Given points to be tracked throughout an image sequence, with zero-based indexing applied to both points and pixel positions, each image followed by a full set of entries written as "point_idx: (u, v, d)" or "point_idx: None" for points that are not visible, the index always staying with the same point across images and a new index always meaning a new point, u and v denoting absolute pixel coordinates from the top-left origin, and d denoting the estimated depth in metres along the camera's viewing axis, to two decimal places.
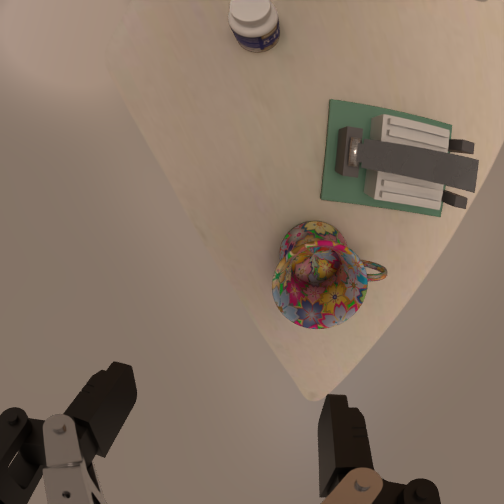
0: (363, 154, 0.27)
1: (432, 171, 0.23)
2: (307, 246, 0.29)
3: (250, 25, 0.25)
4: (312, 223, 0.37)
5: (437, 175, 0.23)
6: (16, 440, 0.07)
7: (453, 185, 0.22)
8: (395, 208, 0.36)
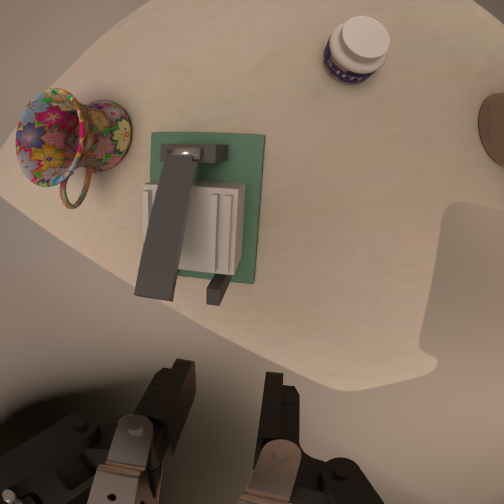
0: (179, 161, 0.25)
1: (155, 241, 0.23)
2: (77, 113, 0.22)
3: (340, 37, 0.21)
4: (127, 127, 0.31)
5: (151, 247, 0.23)
6: (75, 447, 0.07)
7: (140, 267, 0.22)
8: None
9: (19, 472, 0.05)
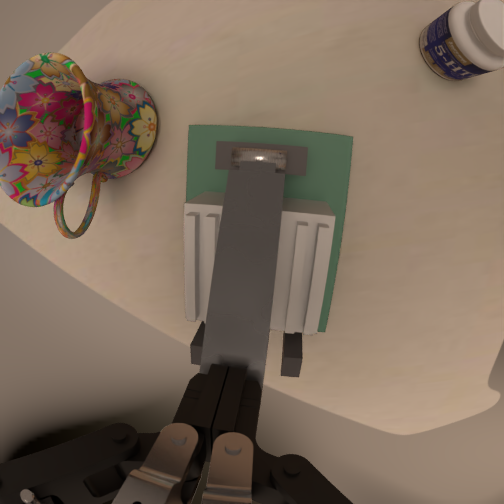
0: (254, 172, 0.16)
1: (227, 313, 0.14)
2: (81, 88, 0.13)
3: (470, 19, 0.11)
4: (152, 116, 0.22)
5: (220, 322, 0.14)
6: (109, 459, 0.07)
7: (204, 356, 0.13)
8: None
9: (43, 475, 0.06)
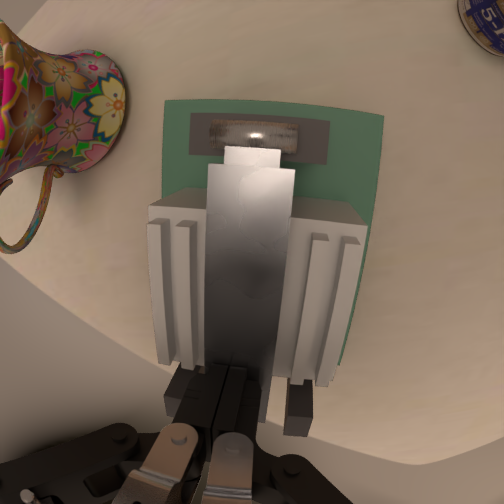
0: (248, 167, 0.10)
1: (226, 349, 0.12)
2: (3, 50, 0.07)
3: None
4: (118, 91, 0.16)
5: (220, 357, 0.12)
6: (109, 459, 0.07)
7: None
8: None
9: (43, 475, 0.06)
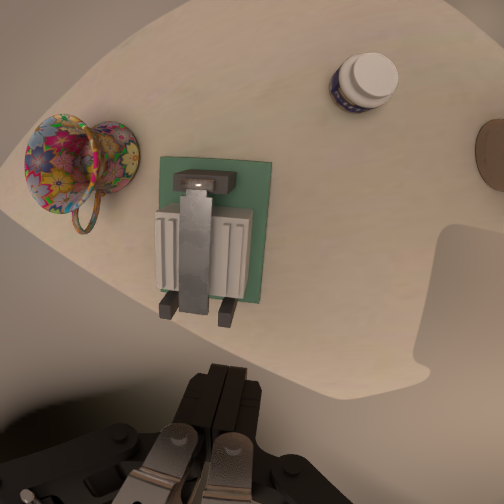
0: (194, 197, 0.27)
1: (188, 273, 0.29)
2: (90, 142, 0.23)
3: (351, 73, 0.22)
4: (135, 150, 0.32)
5: (185, 277, 0.29)
6: (109, 459, 0.07)
7: (180, 292, 0.29)
8: None
9: (43, 475, 0.06)
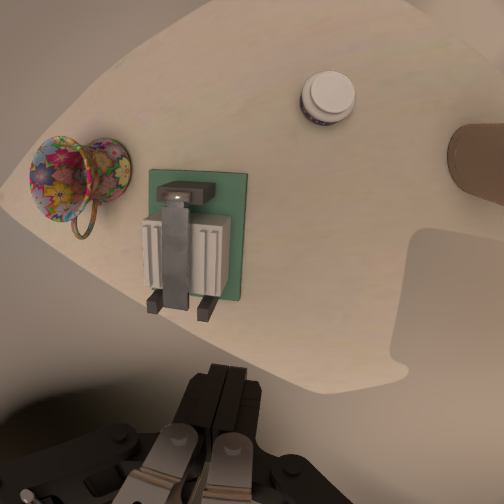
0: (174, 207, 0.31)
1: (170, 273, 0.33)
2: (84, 161, 0.27)
3: None
4: (127, 164, 0.36)
5: (168, 277, 0.33)
6: (109, 459, 0.07)
7: (163, 290, 0.33)
8: None
9: (43, 475, 0.06)
